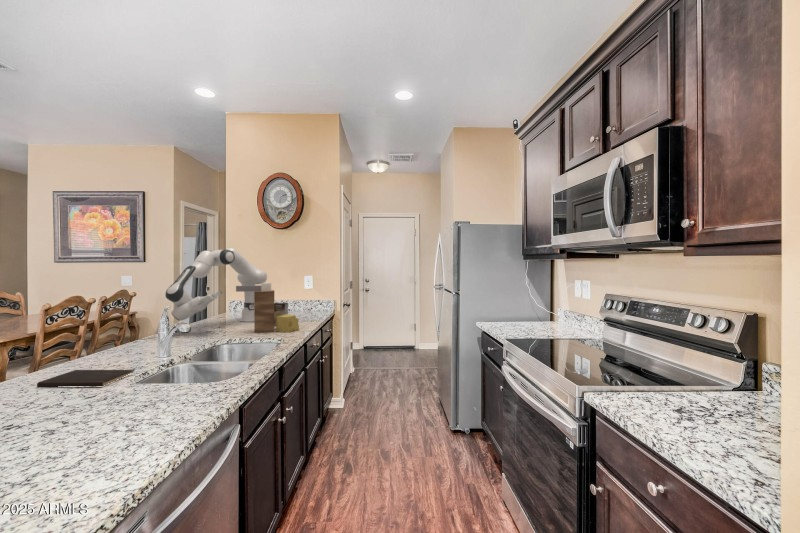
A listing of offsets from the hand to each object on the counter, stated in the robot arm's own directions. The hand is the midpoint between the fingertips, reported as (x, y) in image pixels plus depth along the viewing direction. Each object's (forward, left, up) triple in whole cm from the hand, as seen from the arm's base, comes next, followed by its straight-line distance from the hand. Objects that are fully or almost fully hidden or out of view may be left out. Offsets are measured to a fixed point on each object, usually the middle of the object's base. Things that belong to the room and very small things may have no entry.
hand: (221, 291), depth 238 cm
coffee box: (-17, +36, -26) cm, 48 cm away
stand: (+1, +26, -26) cm, 37 cm away
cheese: (+5, +40, -26) cm, 48 cm away
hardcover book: (+92, -34, -27) cm, 101 cm away
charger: (+1, +19, 0) cm, 19 cm away
